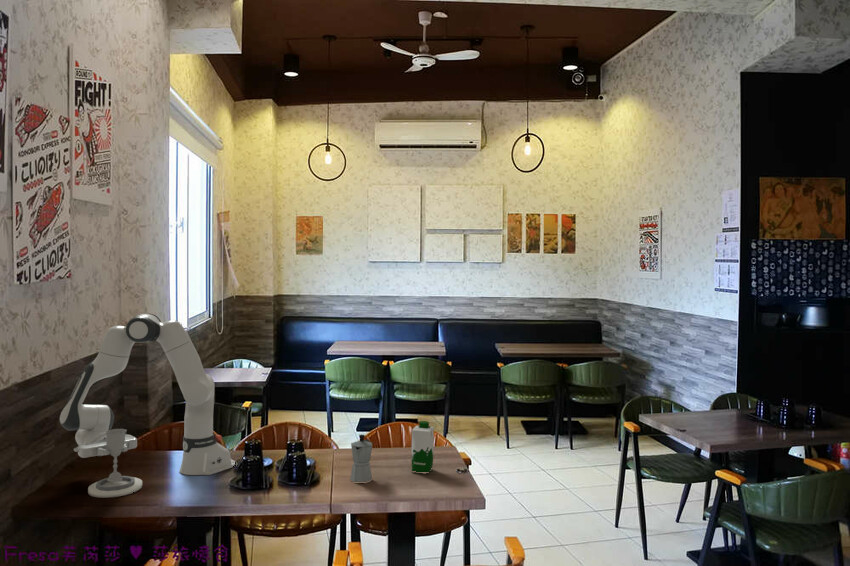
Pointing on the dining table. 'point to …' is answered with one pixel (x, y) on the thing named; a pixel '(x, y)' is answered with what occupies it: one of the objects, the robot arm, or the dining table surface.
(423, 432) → the milk carton
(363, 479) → the coffee maker
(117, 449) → the chalice
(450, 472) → the dining table surface
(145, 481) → the dining table surface
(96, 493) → the carrier plate
